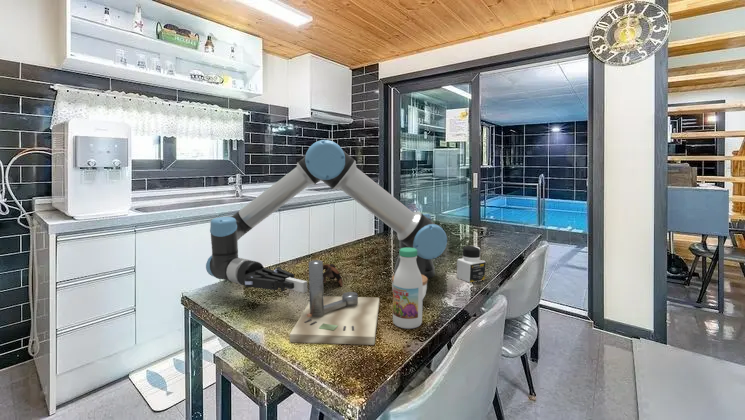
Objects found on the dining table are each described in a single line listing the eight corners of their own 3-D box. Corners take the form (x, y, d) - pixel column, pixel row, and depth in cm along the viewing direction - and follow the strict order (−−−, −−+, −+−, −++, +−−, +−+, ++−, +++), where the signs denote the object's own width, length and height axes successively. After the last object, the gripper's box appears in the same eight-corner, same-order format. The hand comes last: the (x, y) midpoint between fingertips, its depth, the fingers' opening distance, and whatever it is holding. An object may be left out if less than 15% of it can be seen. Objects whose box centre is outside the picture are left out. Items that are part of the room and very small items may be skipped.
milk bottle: (401, 314, 99) (402, 244, 96) (427, 321, 95) (428, 248, 92) (387, 324, 93) (387, 250, 90) (413, 332, 89) (414, 254, 86)
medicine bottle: (470, 283, 124) (471, 250, 122) (456, 277, 130) (457, 245, 129) (485, 280, 127) (486, 247, 126) (471, 274, 134) (472, 243, 132)
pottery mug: (343, 291, 118) (330, 272, 116) (319, 301, 120) (306, 283, 118) (347, 271, 129) (336, 253, 127) (325, 281, 131) (313, 264, 129)
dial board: (379, 304, 106) (379, 296, 106) (374, 344, 83) (374, 335, 82) (313, 302, 108) (313, 295, 107) (289, 342, 84) (289, 333, 84)
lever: (351, 298, 104) (351, 251, 102) (361, 303, 100) (360, 254, 98) (303, 314, 93) (301, 262, 91) (312, 319, 90) (310, 266, 88)
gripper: (264, 278, 112) (321, 292, 100) (228, 291, 101) (287, 309, 89) (263, 255, 111) (321, 267, 99) (226, 265, 100) (286, 280, 88)
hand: (305, 287), depth 94 cm, fingers closed
